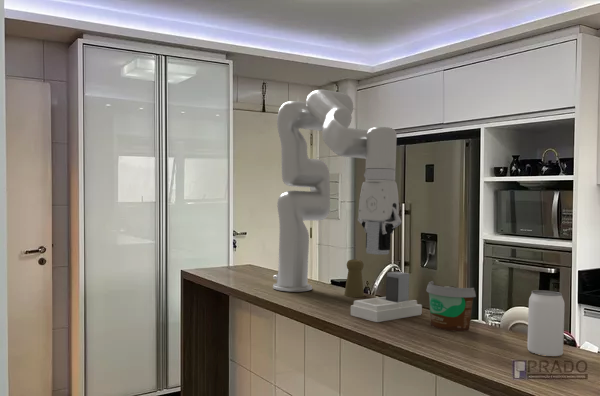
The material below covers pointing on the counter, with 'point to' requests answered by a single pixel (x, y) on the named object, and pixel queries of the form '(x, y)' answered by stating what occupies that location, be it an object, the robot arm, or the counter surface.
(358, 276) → the cork
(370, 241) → the upright gray prism
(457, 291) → the food container
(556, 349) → the can
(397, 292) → the white stepped block base
